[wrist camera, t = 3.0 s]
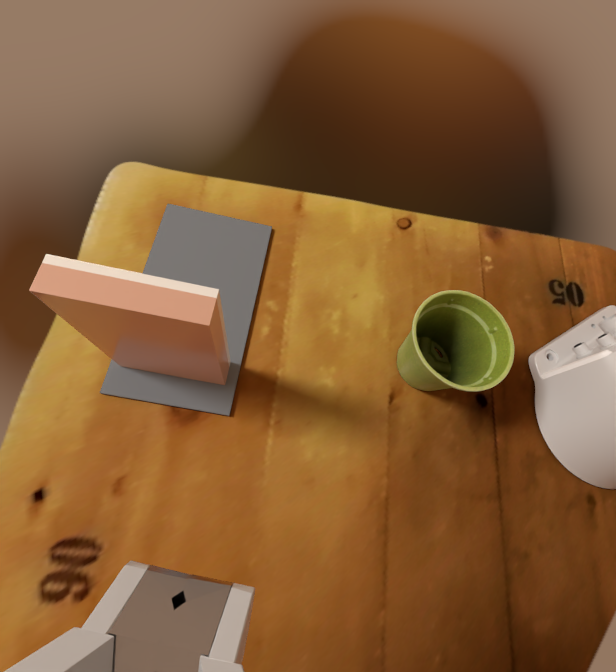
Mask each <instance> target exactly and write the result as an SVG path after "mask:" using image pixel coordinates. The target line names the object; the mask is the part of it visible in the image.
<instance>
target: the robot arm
mask: <svg viewBox="0 0 616 672" xmlns="http://www.w3.org/2000/svg"><path fill="white" fill-rule="evenodd" d="M547 357H548V358H549V360H548V359H547ZM529 367H530V371H531V374H532V377H533V379H534V382H535V411H536V417H537V421H538V424H539V427H540V430H541V433H542V435H543V437H544V439H545V441H546V443H547V445H548V446H549V448H550V450H551V451H552V452H553V454H554V455H555V456H556V458H557V459H558V460H559V461H560V462H561V463H562V464H563V465H564V466H565V467H566V468H567V469H568V470H569V471H570V472H571V473H573V474H574V475H575V476H577V477H578V478H580V479H582V480H583V481H585V482H587V483H589V484H592V485H594V486H597V487H601V488H607V489H616V306H612V305H611V306H607V307H604V308H602V309H600V310H599V311H597V312H596V313H594V314H592V315H591V316H589V317H588V318H586V319H585V320H583V321H582V322H580V323H579V324H577V325H576V326H574V327H572V328H571V329H569V330H568V331H566V332H565V333H563V334H562V335H560V336H559V337H557V338H556V339H554V340H552V341H551V342H549V343H548V344H546V345H545V346H543V347H542V348H540V349H539V350H537V351H536V352H534V353H533V354H531V355H530V357H529ZM254 594H255V588H254V587H250V586H245V585H240V584H236V583H232V582H227V581H222V580H217V579H213V578H208V577H203V576H198V575H189V574H185V573H181V572H177V571H173V570H169V569H165V568H161V567H157V566H153V565H148V564H144V563H139V562H135V561H130V562H129V563H127V564H126V565H125V566H124V567H123V569H122V570H121V572H120V573H119V575H118V576H117V577H116V579H115V580H114V582H113V583H112V585H111V586H110V588H109V589H108V590H107V592H106V593H105V595H104V596H103V598H102V599H101V601H100V602H99V603H98V605H97V606H96V608H95V609H94V611H93V612H92V614H91V615H90V616H89V618H88V619H87V621H86V622H85V624H84V625H83V627H82V628H78V627H74V628H72V629H71V630H69V631H67V632H66V633H64V634H63V635H61V636H59V637H58V638H56V639H55V640H53V641H52V642H50V643H48V644H47V645H45V646H44V647H42V648H40V649H39V650H37V651H36V652H34V653H33V654H31V655H29V656H28V657H26V658H25V659H23V660H21V661H20V662H18V663H17V664H15V665H14V666H12V667H10V668H9V669H7V670H6V671H4V672H244V669H243V666H242V665H241V663H242V659H243V655H244V650H245V645H246V640H247V635H248V629H249V624H250V618H251V612H252V606H253V600H254Z"/></svg>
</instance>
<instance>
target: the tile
mask: <svg viewBox="0 0 616 672" xmlns="http://www.w3.org/2000/svg"><path fill="white" fill-rule="evenodd" d="M29 291H30V292H32V293H33V294H34V295H35V296H36V297H38V298H39V299H40V300H41V301H42V302H44V303H45V304H46V305H47V306H48V307H50V308H51V309H52V310H53V311H54V312H56V313H57V314H58V315H59V316H60V317H62V318H63V319H64V320H65V321H66V322H68V323H69V324H70V325H71V326H73V327H74V328H75V329H76V330H77V331H79V332H80V333H81V334H82V335H83V336H85V337H86V338H87V339H88V340H89V341H91V342H92V343H93V344H94V345H95V346H97V347H98V348H99V349H100V350H101V351H103V352H104V353H105V354H106V355H107V356H109V357H110V358H111V359H112V360H114V361H115V362H116V363H117V364H118V365H120V366H122V367H127V368H133V369H138V370H144V371H149V372H155V373H160V374H166V375H171V376H177V377H182V378H188V379H193V380H199V381H204V382H210V383H215V384H220V385H225V384H226V380H227V375H228V371H229V367H230V363H231V361H230V355H229V349H228V342H227V336H226V330H225V324H224V317H223V311H222V305H221V299H220V292H219V289H215V288H210V287H205V286H200V285H196V284H191V283H186V282H181V281H176V280H171V279H166V278H161V277H156V276H151V275H147V274H142V273H137V272H132V271H127V270H122V269H117V268H112V267H107V266H103V265H98V264H93V263H88V262H83V261H78V260H73V259H68V258H63V257H58V256H53V255H49V254H46V256H45V258H44V261H43V262H42V264H41V266H40V269H39V271H38V273H37V275H36V277H35V279H34V281H33V283H32V285H31V287H30V290H29Z"/></svg>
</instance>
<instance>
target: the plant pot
mask: <svg viewBox="0 0 616 672" xmlns="http://www.w3.org/2000/svg"><path fill="white" fill-rule="evenodd" d="M434 347H435V348H437V349H438V350H439V351H440V352H441V354H442V356H443V357H442V358H441V357H440V355H439V354H438V353H437V351H436V349H434ZM513 360H514V342H513V337H512V334H511V331H510V329H509V326H508V325H507V323H506V321H505V319H504V318H503V316H502V315H501V314H500V313H499V312H498V311H497V310H496V309H495V308H494V307H493V306H492V305H491V304H490V303H489V302H487V301H486V300H484V299H482V298H480V297H479V296H477V295H475V294H472V293H469V292H465V291H460V290H448V291H442V292H439V293H436V294H434V295H432V296H431V297H429V298H428V299H426V300H425V301H424V302H423V303H422V304H421V306H420V307H419V308H418V310H417V312H416V314H415V316H414V319H413V323H412V330H411V332H410V333H409V335H408V336H407V338H406V339H405V341H404V342H403V344H402V345H401V347H400V348H399V350H398V355H397V367H398V370H399V373H400V375H401V376H402V378H403V379H404V380H405V381H406V382H407V383H408V384H409V385H410V386H412V387H414V388H416V389H419V390H423V391H434V390H441V389H448V388H455V389H458V390H461V391H468V392H477V391H483V390H487V389H490V388H492V387H494V386H496V385H497V384H499V383H500V382H501V381H502V380H503V379H504V378H505V377H506V376H507V374H508V373H509V371H510V369H511V366H512V363H513Z"/></svg>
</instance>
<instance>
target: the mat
mask: <svg viewBox="0 0 616 672" xmlns="http://www.w3.org/2000/svg"><path fill="white" fill-rule="evenodd" d="M271 230H272V227H271V226H267V225H262V224H258V223H253V222H249V221H244V220H240V219H235V218H231V217H226V216H222V215H217V214H212V213H208V212H203V211H199V210H194V209H190V208H185V207H181V206H176V205H172V204H167V207H166V210H165V212H164V215H163V218H162V221H161V224H160V226H159V229H158V232H157V235H156V238H155V240H154V243H153V246H152V249H151V251H150V254H149V257H148V260H147V263H146V265H145V268H144V271H143V274H147V275H151V276H156V277H161V278H166V279H171V280H176V281H181V282H186V283H191V284H196V285H200V286H205V287H210V288H215V289H219V292H220V299H221V305H222V311H223V317H224V324H225V330H226V336H227V342H228V349H229V355H230V361H231V363H230V367H229V371H228V375H227V380H226V384H225V385H220V384H215V383H210V382H204V381H199V380H193V379H188V378H182V377H177V376H171V375H166V374H160V373H155V372H149V371H144V370H138V369H133V368H127V367H122V366H120V365H118V364H117V363H116V362H115V361H114V360H111V363H110V366H109V368H108V371H107V374H106V377H105V380H104V382H103V385H102V388H101V391H100V393H101V394H106V395H112V396H118V397H123V398H129V399H135V400H140V401H146V402H152V403H158V404H163V405H169V406H175V407H180V408H186V409H192V410H197V411H203V412H209V413H214V414H220V415H226V416H229V415H230V411H231V407H232V402H233V398H234V393H235V389H236V384H237V380H238V376H239V371H240V367H241V362H242V358H243V354H244V349H245V345H246V340H247V336H248V331H249V327H250V323H251V318H252V314H253V309H254V305H255V301H256V296H257V292H258V287H259V283H260V278H261V274H262V270H263V265H264V261H265V256H266V252H267V248H268V243H269V239H270V234H271Z"/></svg>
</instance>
